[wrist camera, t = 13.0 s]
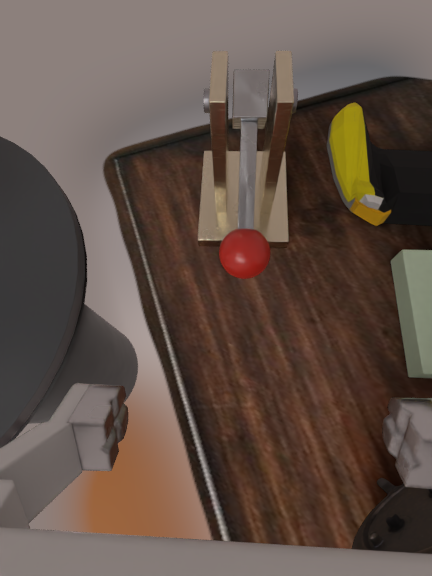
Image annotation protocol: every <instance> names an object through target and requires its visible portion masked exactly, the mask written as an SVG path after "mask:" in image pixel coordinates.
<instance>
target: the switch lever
mask: <svg viewBox="0 0 432 576" xmlns="http://www.w3.org/2000/svg"><path fill="white" fill-rule="evenodd" d="M268 90H269V70H234V79H233V116H232V118H233V129H241V131H240V164H239V196H238V229H235V230H233V231H231V232H230V233H228V234H227V235H226V236H225V238H224V239H223V241H222V243H221V245H220V249H219V257H220V261H221V264H222V266H223V267H224V269H225V270H226V271H227V272H228V273H229V274H231V275H232V276H234V277H237V278H242V279H248V278H252V277H255V276H257V275H259V274H260V273H261V272H262V271H263V270H264V269H265V268H266V266H267V265H268V262H269V259H270V247H269V243H268V241H267V240H266V238H265V237H264V236H263V235H262V234H261V233H260V232H259V231H257V230H255V229H254V208H255V182H256V156H257V130H258V129H264V127H265V124H266V120H267V115H268Z"/></svg>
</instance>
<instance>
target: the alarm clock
mask: <svg viewBox="0 0 432 576" xmlns="http://www.w3.org/2000/svg"><path fill="white" fill-rule="evenodd" d="M377 484H378V485H379V486H380V487H381V488H382V489H383V490H384V491H385V492H386V493H387V496H386V497H385V498H384V499H383V500H382V501H381V502H380V503H379V504H378V505H377V506H376V507H375V508H374V509H373V510H372V511H371V512H370V514H369V515H368V516H367V517H366V519H365V520H364V522H363V523H362V525H361V527H360V528H359V530H358V532H357V534H356V536H355V539H354V542H353V546H352V549H357V550H373V551H389V552H406V553H422V554H432V489H425V488H413V487H405V485H404V484H402V485H400V486H394V485H393V484H391V483H390V482H389V481H387V480H386V479H384V478H380V479H379V480H378V481H377Z"/></svg>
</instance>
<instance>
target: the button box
mask: <svg viewBox="0 0 432 576" xmlns="http://www.w3.org/2000/svg"><path fill="white" fill-rule="evenodd" d="M391 267H392V274H393V280H394V287H395V293H396V300H397V306H398V313H399V319H400V326H401V332H402V339H403V345H404V352H405V358H406V365H407V371H408V377H414V378H432V250H401V251H400V252H399V253H398V254H397V255H396V256H395V257H394V258H393V259H392V260H391Z"/></svg>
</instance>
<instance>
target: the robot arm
mask: <svg viewBox="0 0 432 576" xmlns="http://www.w3.org/2000/svg"><path fill="white" fill-rule="evenodd" d="M125 397H126V393H125V388H124V387H123V386H115V385H100V384H80V383H76V384H74V385H73V386H72V387H71V388H70V390H69V391H68V393H67V394H66V396H65V397H64V399H63V400H62V402H61V403H60V405H59V406H58V408H57V409H56V411H55V412H54V414H53V415H52V417H51V418H50V420H49V421H48V422H42V423H41V424H39V425H38V426H36V427H34V428H33V429H31V430H29V431H28V432H26V433H24V434H23V435H21V436H20V437H18V438H16V439H15V440H13V441H11V442H10V443H8V444H7V445H5V446H3V447H2V448H0V576H432V554H422V553H406V552H389V551H373V550H357V549H340V548H324V547H308V546H293V545H277V544H261V543H246V542H230V541H214V540H198V539H183V538H167V537H166V538H165V537H151V536H134V535H118V534H102V533H87V532H71V531H54V530H39V529H30V526H29V523H30V522H31V521H32V520H33V519H34V518H35V517H36V516H37V515H38V514H39V513H40V512H41V511H42V510H43V509H44V508H45V507H46V506H47V505H48V504H50V502H52V501H53V500H54V499H55V498H56V497H57V496H58V495H59V494H60V493H61V492H62V491H63V490H64V489H65V488H66V487H67V486H68V485H69V484H70V483H71V482H72V481H73V480H74V479H75V478H77V477H78V476H79V475H80V474H81V473H82V470H90V471H92V470H93V471H111V470H112V468H113V465H114V462H115V460H116V457H117V455H118V452H119V449H118V443H119V442H120V441H121V440H122V439H123V438H124V436H125V433H126V429H127V424H128V408H127V406H126V405H125V404H124V403H123V402H124V400H125ZM387 408H388V410H389V411H390V413H391V414H389V415H388V416H387V417H386V418H384V422H383V426H382V433H383V440H384V443H385V446H386V448H387V450H388V452H389V453H390V454H392V455H393V456H394V457H395V458H397V460H396V463H395V467H396V469H397V471H398V473H399V475H400V477H401V479H402V481H403V483H404V485H405V487H413V488H425V489H432V398H427V399H425V398H398V397H392V398H391V399H390V401H389V403H388V407H387Z"/></svg>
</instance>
